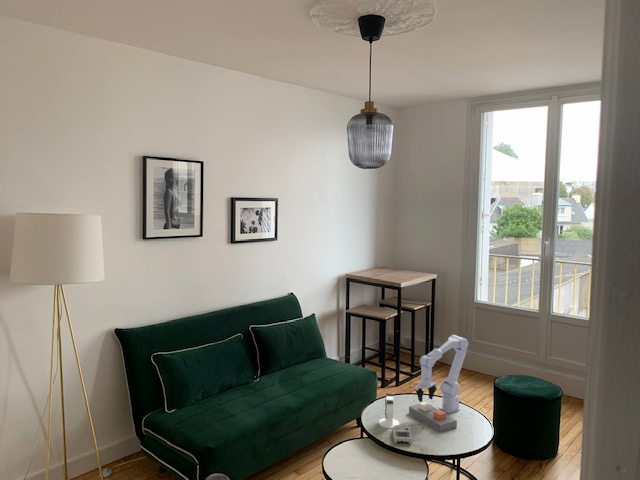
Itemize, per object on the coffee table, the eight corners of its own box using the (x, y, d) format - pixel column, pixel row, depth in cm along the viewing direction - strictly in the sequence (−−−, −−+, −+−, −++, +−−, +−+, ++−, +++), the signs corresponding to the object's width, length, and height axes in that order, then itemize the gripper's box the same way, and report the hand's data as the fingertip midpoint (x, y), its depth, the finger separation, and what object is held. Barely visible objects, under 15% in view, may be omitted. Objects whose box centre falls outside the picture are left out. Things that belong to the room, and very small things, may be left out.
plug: (419, 409, 280) (419, 403, 280) (425, 408, 282) (425, 401, 282) (424, 413, 276) (424, 406, 275) (431, 411, 278) (431, 404, 278)
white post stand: (378, 417, 276) (379, 392, 275) (398, 418, 275) (399, 393, 274) (379, 427, 264) (379, 400, 263) (400, 428, 263) (400, 402, 262)
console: (408, 412, 283) (409, 406, 282) (424, 408, 288) (425, 402, 288) (439, 432, 260) (440, 425, 259) (456, 427, 266) (456, 420, 265)
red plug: (433, 418, 269) (433, 411, 269) (439, 416, 272) (440, 409, 271) (439, 421, 265) (439, 414, 265) (445, 420, 268) (446, 413, 267)
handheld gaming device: (409, 431, 261) (409, 425, 260) (411, 445, 246) (412, 438, 246) (392, 431, 261) (392, 424, 261) (394, 444, 247) (394, 437, 247)
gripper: (431, 372, 284) (430, 395, 285) (411, 376, 277) (411, 399, 278) (439, 376, 278) (438, 399, 279) (419, 381, 271) (419, 404, 272)
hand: (425, 400), depth 278 cm, fingers open, 7 cm apart
